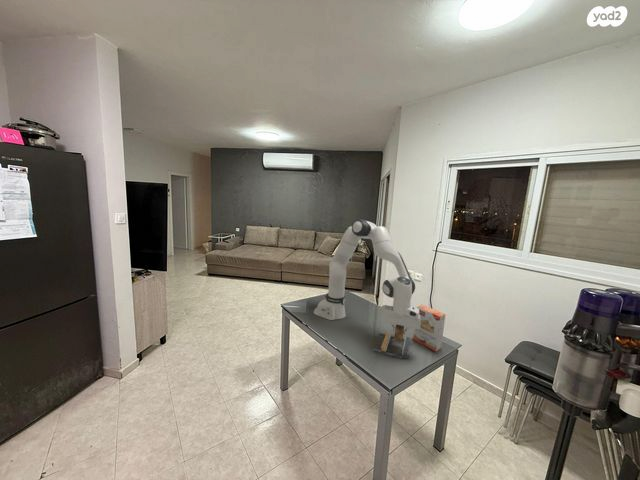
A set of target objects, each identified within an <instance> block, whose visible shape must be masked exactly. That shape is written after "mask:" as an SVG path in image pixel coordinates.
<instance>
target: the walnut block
mask: <svg viewBox="0 0 640 480" xmlns="http://www.w3.org/2000/svg"><path fill="white" fill-rule="evenodd" d="M394 327H395V331H394V335H393V336H394V338H393V341H396V342H401V343H403V341H402V340H403V338H404V335H405V334H403V330H404V329H405V326H400V325H396V324H395V326H394Z"/></svg>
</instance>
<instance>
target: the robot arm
mask: <svg viewBox="0 0 640 480" xmlns="http://www.w3.org/2000/svg"><path fill="white" fill-rule="evenodd" d="M361 239H364V240H370V241H371V243H372V247H373V251H374V254H375V255H376V257H378V258H379V259H381V260H384V261H387V262H389V263H392V264H393V265H394V267H395V268H396V271H397V274H398V276H399V277H396V278H388V279H385V280H384V281H383V282H382V288H381V289H382V292H383V294H384V295H385V296H387V297H388V298H392V299H393V301H392V302H393V303H392V305H387V304H384V305H381V307H380V308H381V309H380V310H381V316H380V320H381V322H383V323H387V324H390V326H391V328H392V332H395V327H396V325H400V326H404V330H403V334H404V335H406V334H407V332H408V330H409V329H410V328H411V329H413V330H414V329H420V327H421V318H420V315H419V309H418V308H417V306H414V305H412V302H411V299H412V296H413V294H414V293H415V290H416V283H415V282H414V279H413V278H412V277H411V275H410V273H409V270H408V268H407V265H406V263H405V261H404V259H403V257H402V255H401V253H400V252H399V251H397V249H395V247H394V244H393V242H392V241H393V240H392V238H391V235H390V233H389V231H388V229H387V228H386V226H383V225H379V226H378V225H377V224H376V223H373V222H372V221H368V220H365V219H356V220H354V221H353V223H352V224H351V226H348V227H347V229H345V231H344V233H343V236H342V237H341V240H340V242H339V244H338V246H337V249H336V251H335V252H334V254H333V256H332V257H331V260H330V261H329V269H328V270H329V274H328V276H329V277H328V292H327V293H326V295H325V296H324V299H323V300H320V302H318V304H317V307H315V308H314V309H313V314H314V315H315V316H318V317H320V318H323V319H327V320H329V321H334V320H342V319H344V318H346V309H345V302H346V296H345V293H346V292H345V291H346V290H345V287H346V280H347V272H348V271H347V264H348V263H349V261H350V259H352V258H353V255H354V253H355V251H356V250H357V247H358V244H359V242H360V240H361Z"/></svg>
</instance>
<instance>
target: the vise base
mask: <svg viewBox="0 0 640 480" xmlns="http://www.w3.org/2000/svg"><path fill="white" fill-rule="evenodd" d="M379 335H380V336H383V337H385V335H386V333H383V332H380V333H379ZM394 336H395V335H392V334H391V338H390V339H394ZM410 340H411V337H410V336H405V337H403V340H402V342H403V346H402V351H401V355H398V354H395V353H391V352H387V351H385V352H384V351H381V350H380V349H377V348H373V349H372V350H373V352H375V353H378V354H381V355H385V356H388V357H393V358H396V359H399V360H403V359H406V360H407V359H408V354H409V347H410Z"/></svg>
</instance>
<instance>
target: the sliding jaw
mask: <svg viewBox="0 0 640 480" xmlns="http://www.w3.org/2000/svg"><path fill="white" fill-rule="evenodd" d="M385 334H386V335H385V336H384V338H383V341H382V344H381V347H380V348H381V351H384V352H387V350H388V347H389V343H390V341H391V339H392V338H391V335H392V332H389V331H386V332H385Z"/></svg>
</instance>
